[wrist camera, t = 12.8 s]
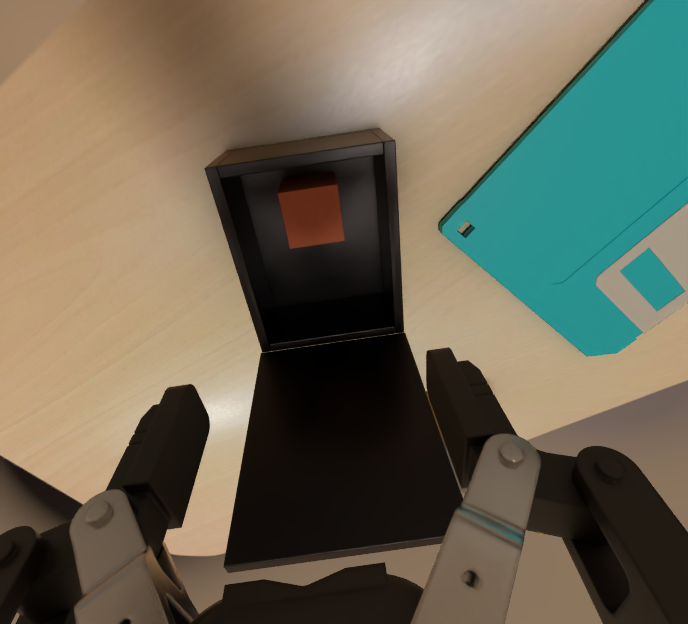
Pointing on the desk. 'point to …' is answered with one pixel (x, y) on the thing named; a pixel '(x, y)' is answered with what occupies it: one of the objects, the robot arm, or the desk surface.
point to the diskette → (596, 193)
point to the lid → (340, 458)
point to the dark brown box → (318, 260)
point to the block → (311, 210)
